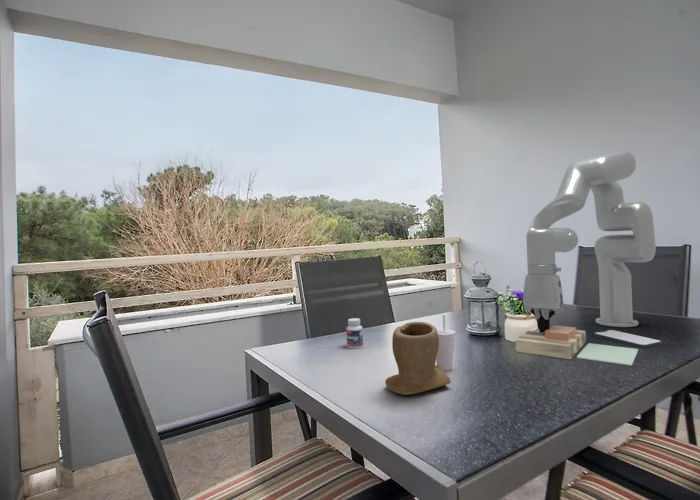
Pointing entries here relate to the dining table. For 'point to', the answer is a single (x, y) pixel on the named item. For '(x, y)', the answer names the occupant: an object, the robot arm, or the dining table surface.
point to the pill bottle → (354, 334)
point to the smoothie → (445, 347)
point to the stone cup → (416, 359)
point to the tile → (560, 333)
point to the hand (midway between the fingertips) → (543, 331)
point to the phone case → (627, 339)
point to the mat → (608, 354)
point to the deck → (550, 344)
